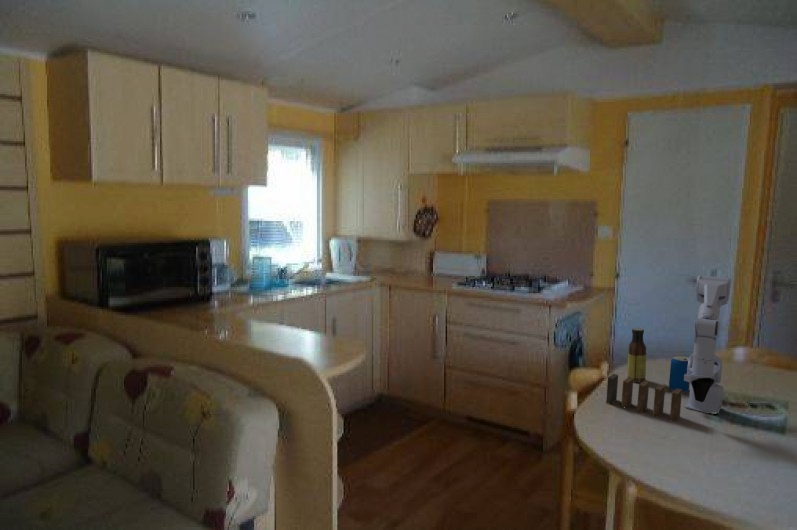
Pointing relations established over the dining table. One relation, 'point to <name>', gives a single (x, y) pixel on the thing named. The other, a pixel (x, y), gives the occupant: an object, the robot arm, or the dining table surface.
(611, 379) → the domino
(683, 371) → the beverage can
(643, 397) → the domino
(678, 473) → the dining table surface
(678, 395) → the domino
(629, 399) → the domino
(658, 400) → the domino
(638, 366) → the sauce bottle
